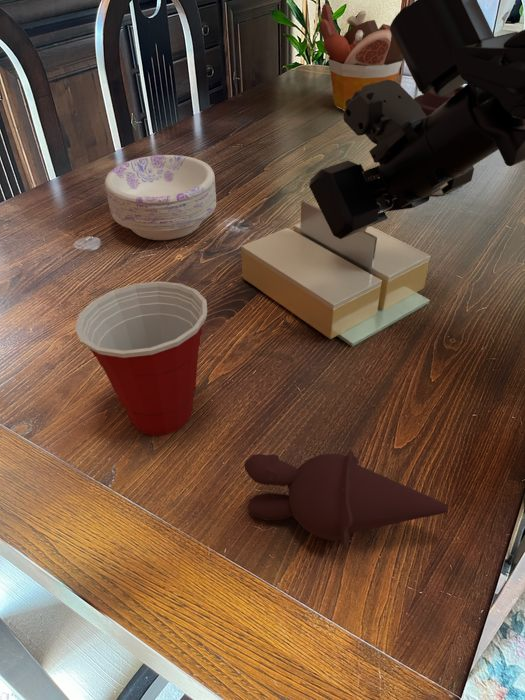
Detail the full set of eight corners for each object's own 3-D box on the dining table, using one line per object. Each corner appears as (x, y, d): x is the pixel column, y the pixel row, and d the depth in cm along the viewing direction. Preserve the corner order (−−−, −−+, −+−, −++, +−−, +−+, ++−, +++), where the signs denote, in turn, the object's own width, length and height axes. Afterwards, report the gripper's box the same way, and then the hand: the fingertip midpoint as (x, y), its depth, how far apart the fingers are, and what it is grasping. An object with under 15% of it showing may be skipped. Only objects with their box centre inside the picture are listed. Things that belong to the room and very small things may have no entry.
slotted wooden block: (436, 299, 67) (445, 262, 63) (343, 352, 59) (347, 313, 56) (322, 237, 79) (324, 203, 76) (233, 274, 71) (231, 239, 68)
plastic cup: (177, 359, 59) (163, 261, 51) (240, 417, 52) (234, 314, 44) (82, 407, 53) (50, 305, 46) (139, 477, 47) (112, 372, 39)
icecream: (448, 438, 42) (254, 422, 45) (457, 503, 35) (229, 479, 38) (440, 511, 44) (258, 491, 48) (447, 583, 38) (236, 554, 41)
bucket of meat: (404, 99, 129) (419, -1, 116) (401, 121, 117) (416, 12, 104) (320, 94, 133) (325, -3, 120) (307, 115, 121) (311, 9, 108)
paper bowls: (157, 263, 74) (149, 208, 69) (93, 227, 82) (82, 175, 77) (239, 224, 82) (237, 172, 77) (174, 194, 90) (168, 145, 85)
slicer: (377, 277, 64) (389, 195, 57) (363, 284, 62) (373, 201, 56) (307, 238, 71) (311, 161, 64) (293, 244, 70) (295, 166, 63)
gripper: (475, 40, 52) (373, 130, 66) (330, 73, 43) (248, 169, 57) (527, 147, 52) (415, 214, 66) (394, 202, 43) (297, 267, 57)
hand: (348, 214), depth 61 cm, fingers closed on slicer, 2 cm apart
